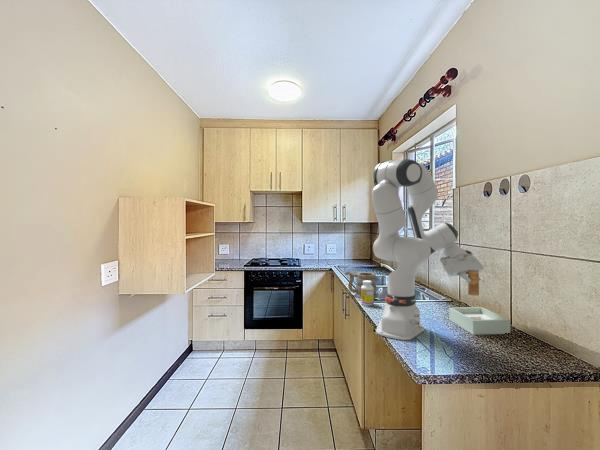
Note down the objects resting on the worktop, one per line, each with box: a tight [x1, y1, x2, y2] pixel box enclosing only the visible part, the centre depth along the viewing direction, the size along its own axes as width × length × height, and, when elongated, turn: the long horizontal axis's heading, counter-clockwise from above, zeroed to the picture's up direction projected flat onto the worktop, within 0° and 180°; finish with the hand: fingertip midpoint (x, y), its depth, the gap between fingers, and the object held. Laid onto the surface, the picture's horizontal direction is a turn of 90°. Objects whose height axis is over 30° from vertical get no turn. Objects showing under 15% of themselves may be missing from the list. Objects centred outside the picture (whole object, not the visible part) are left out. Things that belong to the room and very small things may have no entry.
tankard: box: [344, 270, 379, 300], centre depth 180 cm, size 20×13×15 cm, turn 57°
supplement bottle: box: [360, 280, 375, 307], centre depth 162 cm, size 7×7×13 cm
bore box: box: [448, 306, 511, 336], centre depth 125 cm, size 18×15×6 cm
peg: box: [467, 271, 480, 297], centre depth 128 cm, size 4×4×10 cm
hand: (474, 281), depth 127 cm, fingers closed on peg, 4 cm apart
